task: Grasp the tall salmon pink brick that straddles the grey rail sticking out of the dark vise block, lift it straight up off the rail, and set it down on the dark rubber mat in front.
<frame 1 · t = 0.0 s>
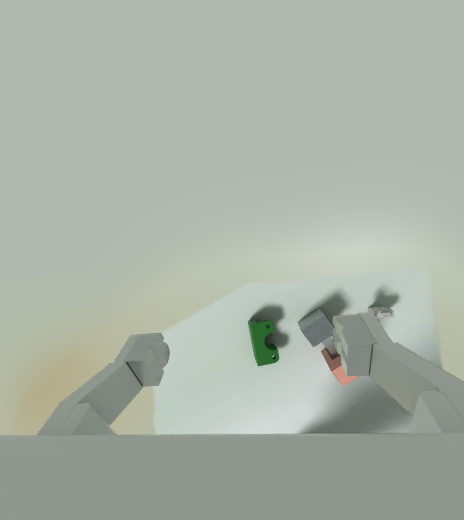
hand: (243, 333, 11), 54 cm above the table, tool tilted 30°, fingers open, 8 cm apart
tall salmon pink brick: (335, 351, 61), on the table
clamp: (263, 336, 65), on the table
lighter: (370, 310, 60), on the table
vise: (320, 331, 62), on the table
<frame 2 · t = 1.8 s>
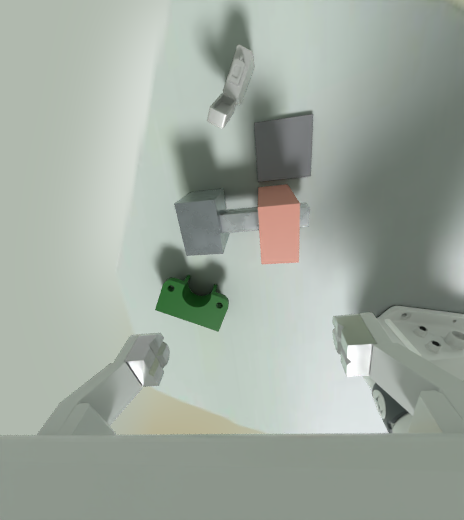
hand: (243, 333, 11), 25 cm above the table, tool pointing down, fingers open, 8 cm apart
tall salmon pink brick: (273, 208, 33), on the table
clamp: (199, 289, 41), on the table
lighter: (236, 97, 27), on the table
mat: (283, 150, 29), on the table
vise: (229, 212, 34), on the table
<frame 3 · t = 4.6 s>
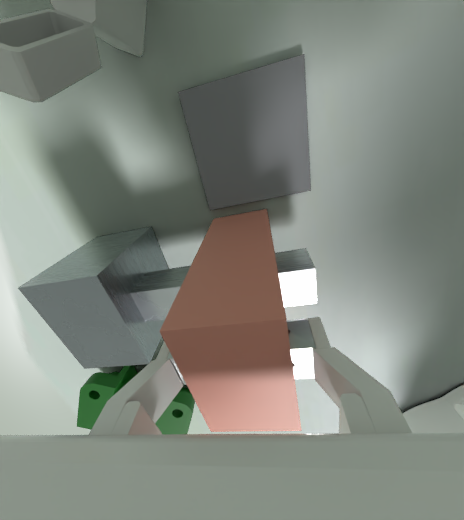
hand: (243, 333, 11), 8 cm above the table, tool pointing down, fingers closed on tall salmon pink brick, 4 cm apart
tall salmon pink brick: (247, 252, 18), on the table, touching gripper
clamp: (154, 370, 27), on the table
lighter: (130, 40, 12), on the table
mat: (249, 144, 14), on the table
vise: (172, 263, 19), on the table
when the fingers open (10 cm above the table, at t = 10.5 s): tall salmon pink brick stays where it is, resting on mat.
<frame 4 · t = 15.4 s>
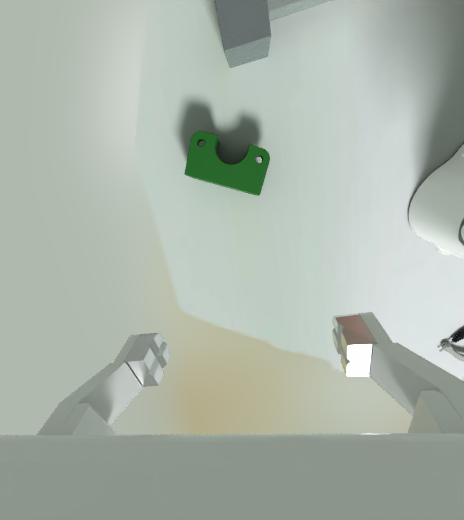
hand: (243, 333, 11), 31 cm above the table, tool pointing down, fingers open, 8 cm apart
clamp: (230, 163, 36), on the table
vise: (267, 18, 27), on the table
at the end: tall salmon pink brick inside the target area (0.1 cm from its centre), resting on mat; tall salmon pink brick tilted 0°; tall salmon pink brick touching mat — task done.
